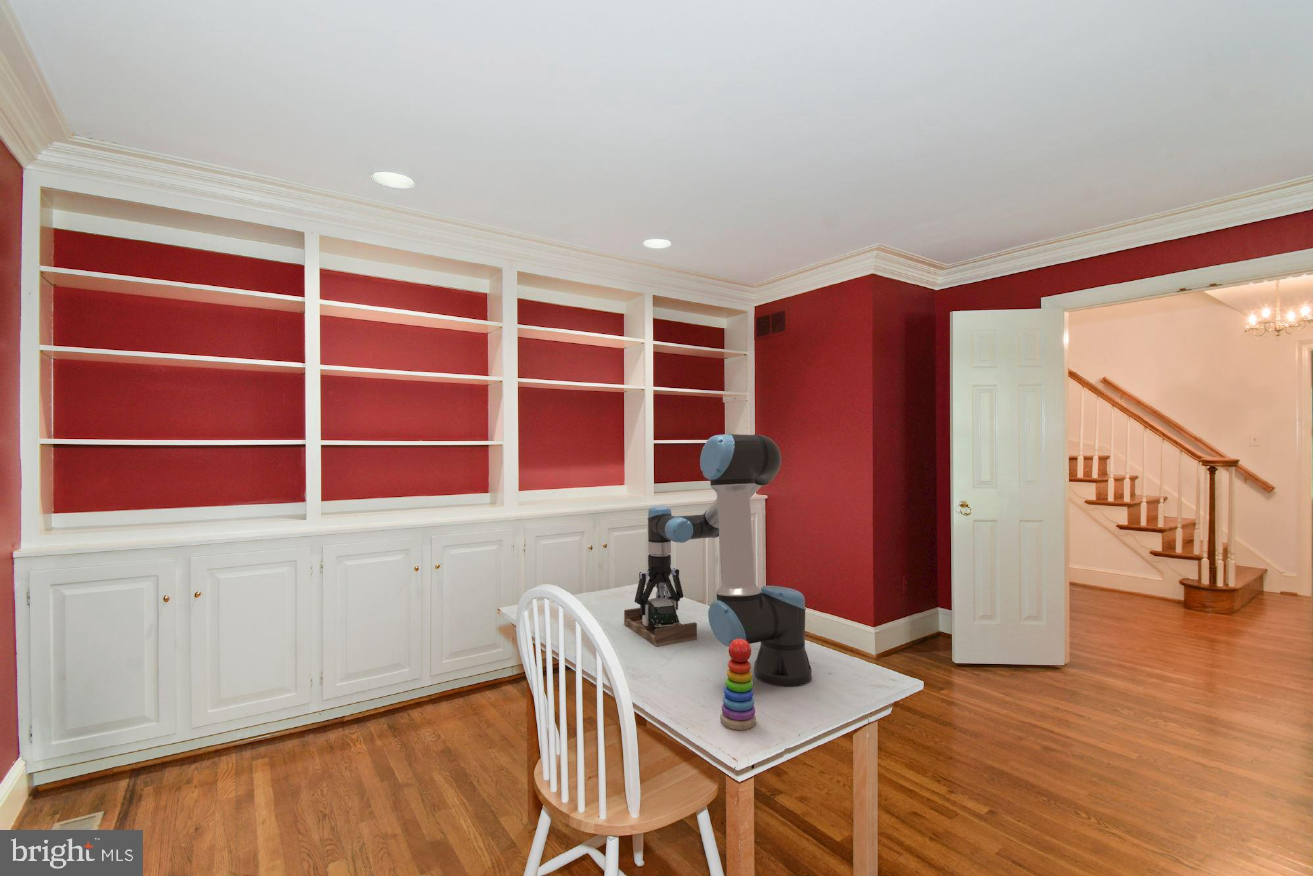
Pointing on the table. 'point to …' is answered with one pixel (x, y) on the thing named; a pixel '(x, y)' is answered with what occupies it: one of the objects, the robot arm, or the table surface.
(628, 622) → the cradle
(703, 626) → the table surface
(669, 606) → the miniature car
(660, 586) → the robot
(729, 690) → the stacking toy
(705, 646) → the table surface
